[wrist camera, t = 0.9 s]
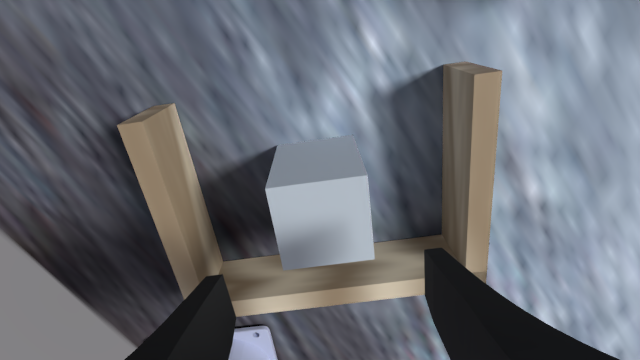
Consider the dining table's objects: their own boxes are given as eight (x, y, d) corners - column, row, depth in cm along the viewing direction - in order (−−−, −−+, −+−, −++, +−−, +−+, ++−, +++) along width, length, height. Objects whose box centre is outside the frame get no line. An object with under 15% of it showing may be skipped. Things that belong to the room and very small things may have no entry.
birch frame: (210, 277, 25) (192, 321, 21) (153, 106, 20) (116, 125, 16) (459, 247, 24) (485, 287, 20) (465, 61, 19) (502, 70, 15)
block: (290, 210, 23) (283, 270, 17) (277, 145, 21) (265, 188, 15) (359, 201, 22) (374, 259, 17) (352, 134, 21) (367, 175, 15)
